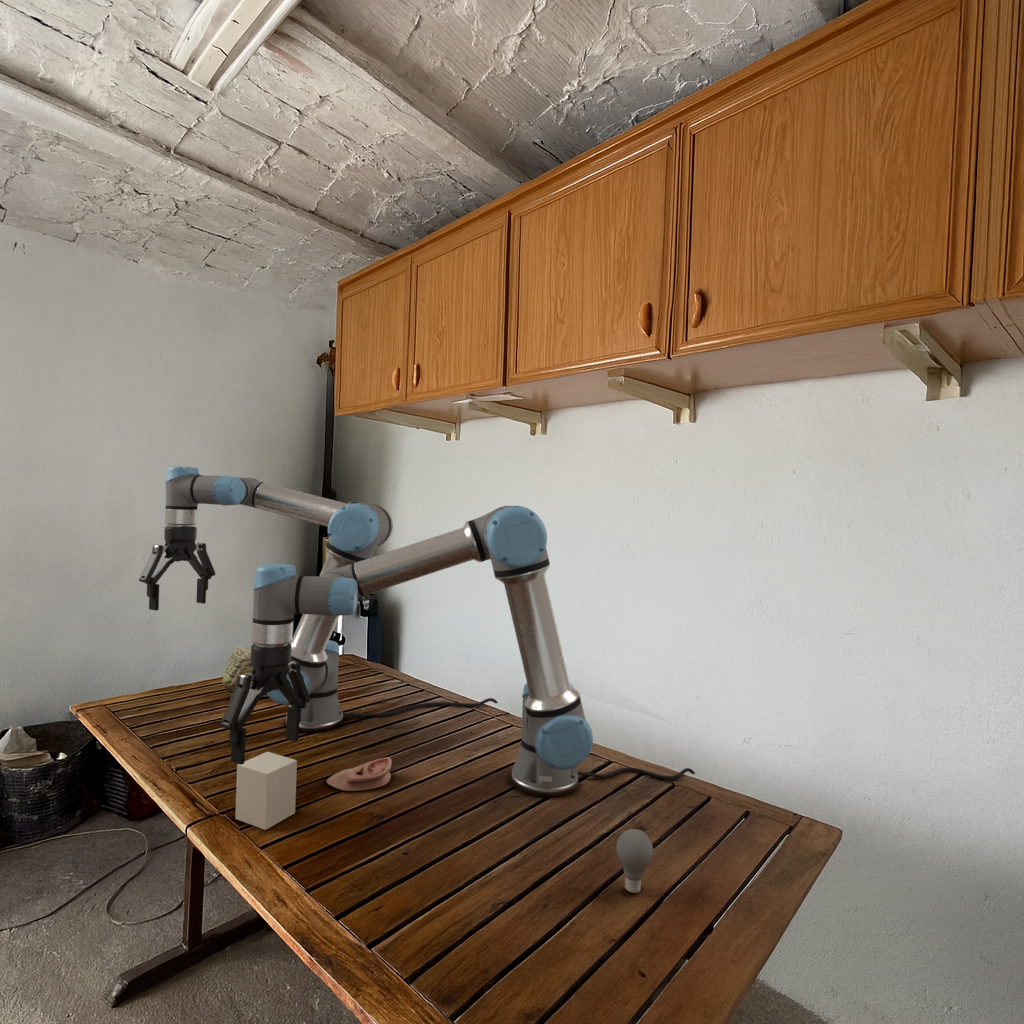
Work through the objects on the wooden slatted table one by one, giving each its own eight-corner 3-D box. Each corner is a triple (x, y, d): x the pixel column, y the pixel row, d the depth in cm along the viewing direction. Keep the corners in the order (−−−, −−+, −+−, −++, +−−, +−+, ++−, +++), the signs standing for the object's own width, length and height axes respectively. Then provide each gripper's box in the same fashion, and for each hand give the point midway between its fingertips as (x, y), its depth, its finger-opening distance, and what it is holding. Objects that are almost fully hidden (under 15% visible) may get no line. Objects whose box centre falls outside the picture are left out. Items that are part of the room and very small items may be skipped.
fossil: (218, 695, 195) (220, 647, 195) (278, 685, 208) (279, 640, 207) (228, 703, 189) (230, 653, 188) (289, 692, 201) (290, 645, 201)
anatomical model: (320, 769, 137) (344, 749, 149) (319, 787, 138) (343, 766, 149) (377, 777, 135) (397, 756, 146) (376, 795, 135) (397, 773, 146)
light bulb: (610, 879, 108) (613, 822, 108) (644, 879, 109) (647, 822, 109) (619, 902, 102) (622, 840, 102) (655, 901, 103) (658, 840, 103)
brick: (265, 803, 130) (267, 751, 130) (295, 813, 127) (297, 760, 126) (235, 818, 123) (237, 764, 123) (265, 830, 120) (267, 774, 120)
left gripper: (212, 524, 179) (209, 598, 179) (124, 525, 156) (122, 611, 157) (230, 525, 175) (228, 601, 176) (144, 527, 153) (141, 614, 153)
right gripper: (304, 630, 137) (298, 727, 137) (203, 652, 115) (197, 768, 115) (330, 635, 134) (325, 735, 134) (232, 658, 111) (226, 778, 112)
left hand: (178, 606), depth 166 cm, fingers open, 13 cm apart
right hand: (266, 750), depth 125 cm, fingers open, 13 cm apart
